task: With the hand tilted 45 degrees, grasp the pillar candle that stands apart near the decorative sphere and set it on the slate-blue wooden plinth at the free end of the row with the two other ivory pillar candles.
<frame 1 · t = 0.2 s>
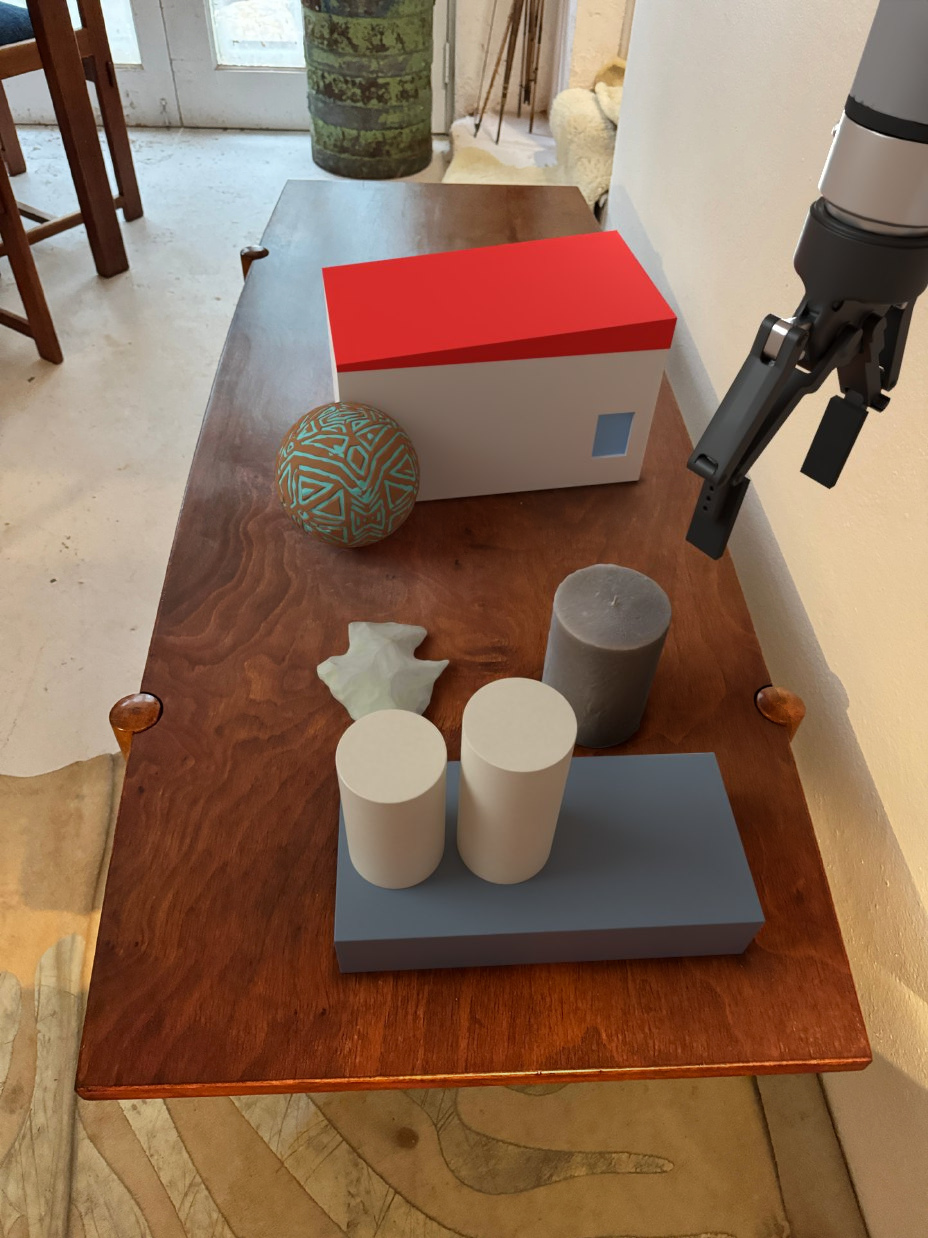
hand: (763, 512, 62), 23 cm above the table, tool pointing down, fingers open, 13 cm apart
arrowhead: (385, 691, 79), on the table
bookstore: (482, 442, 106), on the table, touching decorative sphere
pillar candle: (589, 706, 79), on the table
plinth: (541, 838, 63), on the table
tall ivory candle: (503, 839, 62), point 6 cm above the table, touching plinth
short ivory candle: (396, 844, 62), point 6 cm above the table, touching plinth
decorative sphere: (353, 530, 94), on the table, touching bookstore
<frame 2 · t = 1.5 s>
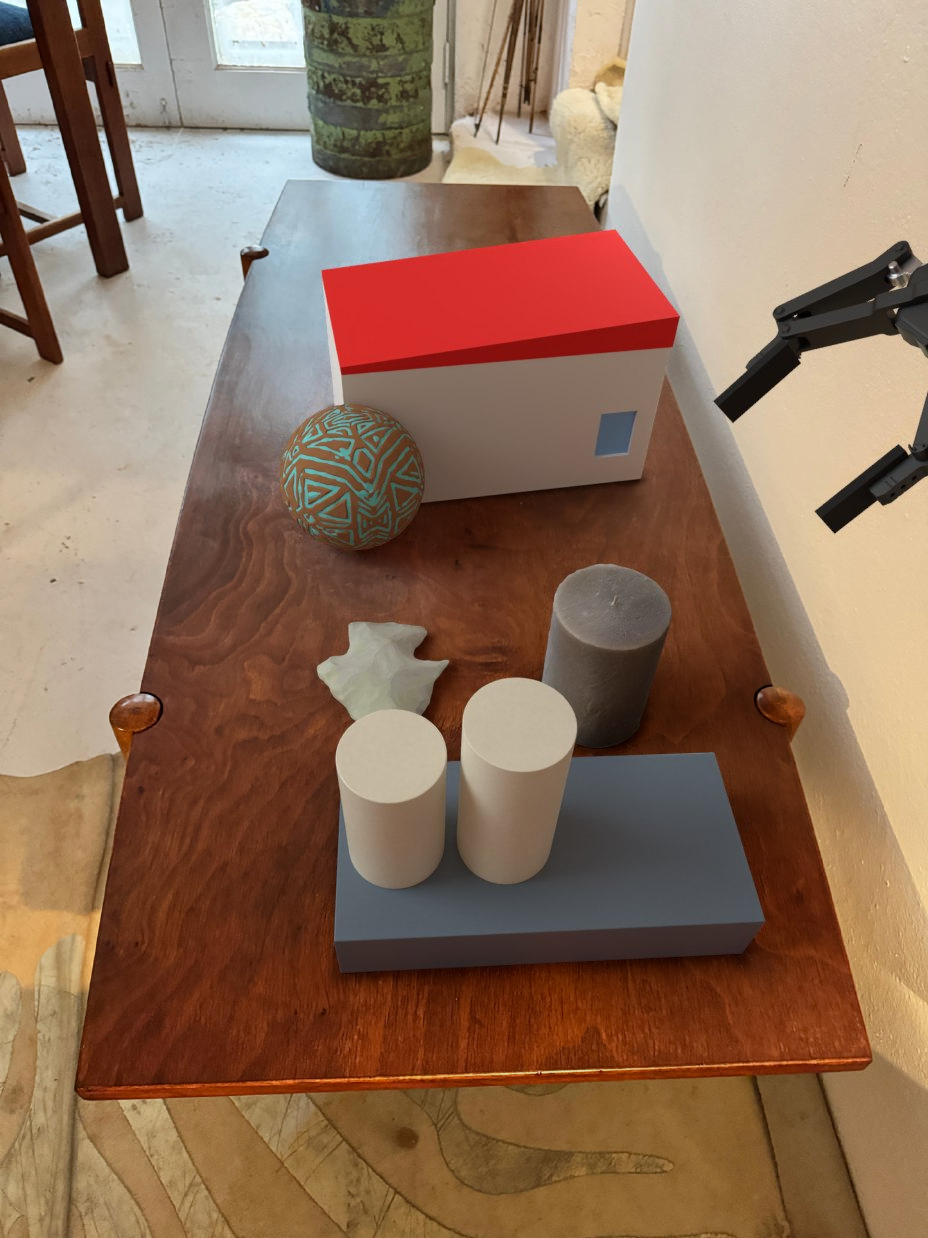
hand: (769, 464, 62), 26 cm above the table, tool tilted 45°, fingers open, 13 cm apart
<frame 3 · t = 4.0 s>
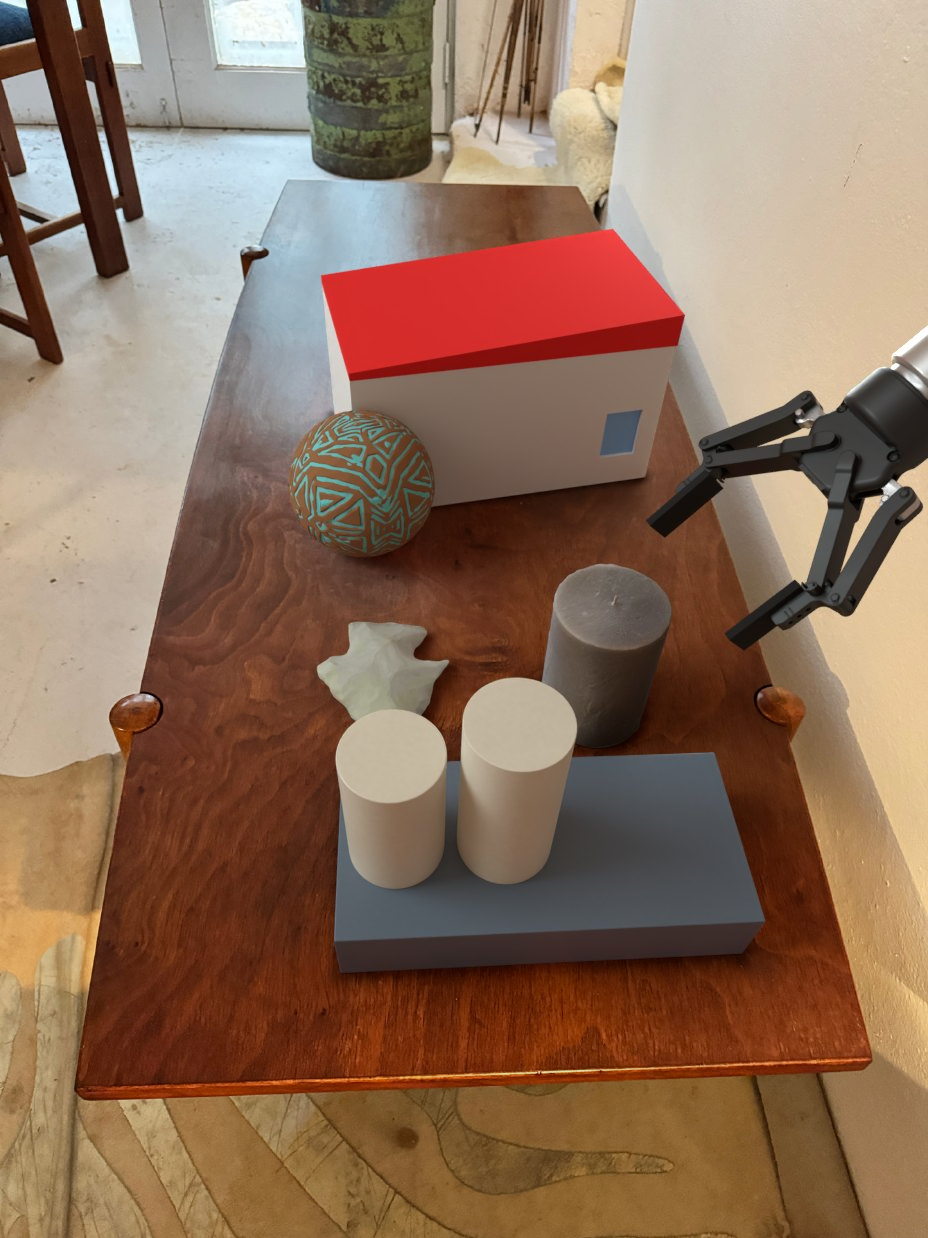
hand: (691, 582, 70), 14 cm above the table, tool tilted 45°, fingers open, 13 cm apart
decorative sphere: (366, 539, 93), on the table, touching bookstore
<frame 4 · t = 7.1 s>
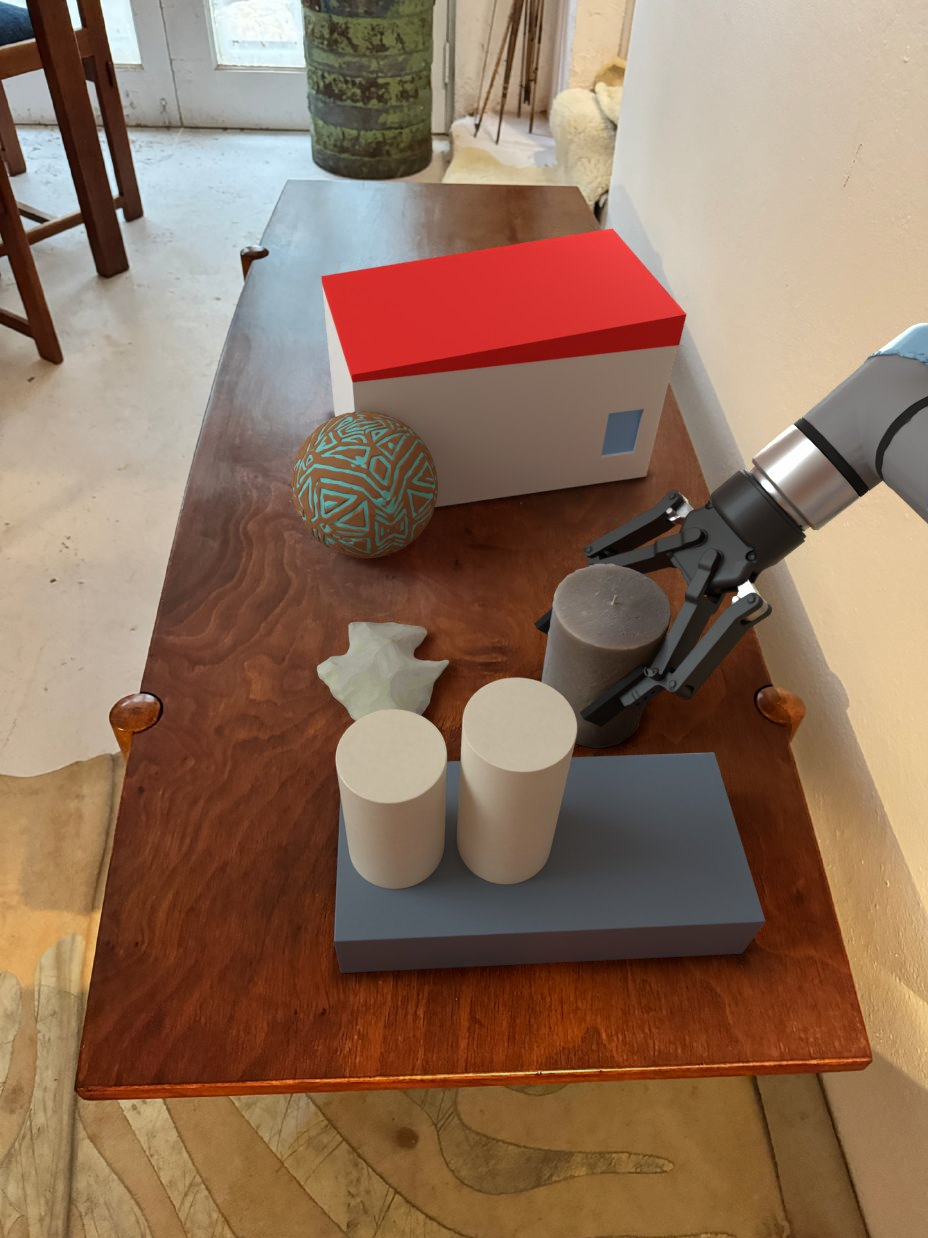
hand: (566, 673, 73), 6 cm above the table, tool tilted 45°, fingers closed on pillar candle, 10 cm apart
pillar candle: (588, 706, 79), on the table, touching gripper
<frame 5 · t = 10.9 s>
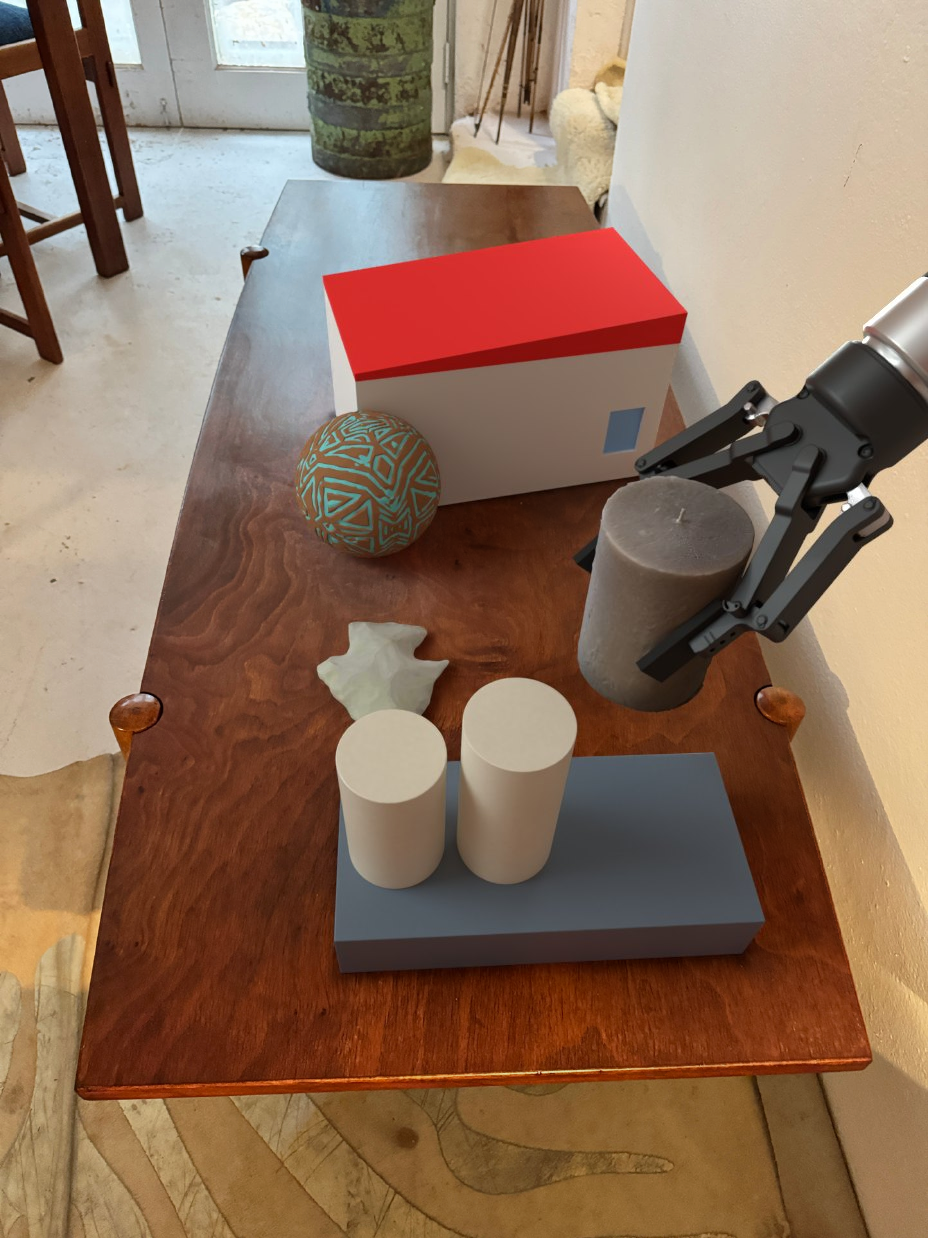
hand: (615, 617, 58), 21 cm above the table, tool tilted 45°, fingers closed on pillar candle, 10 cm apart
pillar candle: (639, 662, 63), point 14 cm above the table, touching gripper
when the fingers open (12 cm above the table, at t = 15.2 s): pillar candle stays where it is, resting on plinth.
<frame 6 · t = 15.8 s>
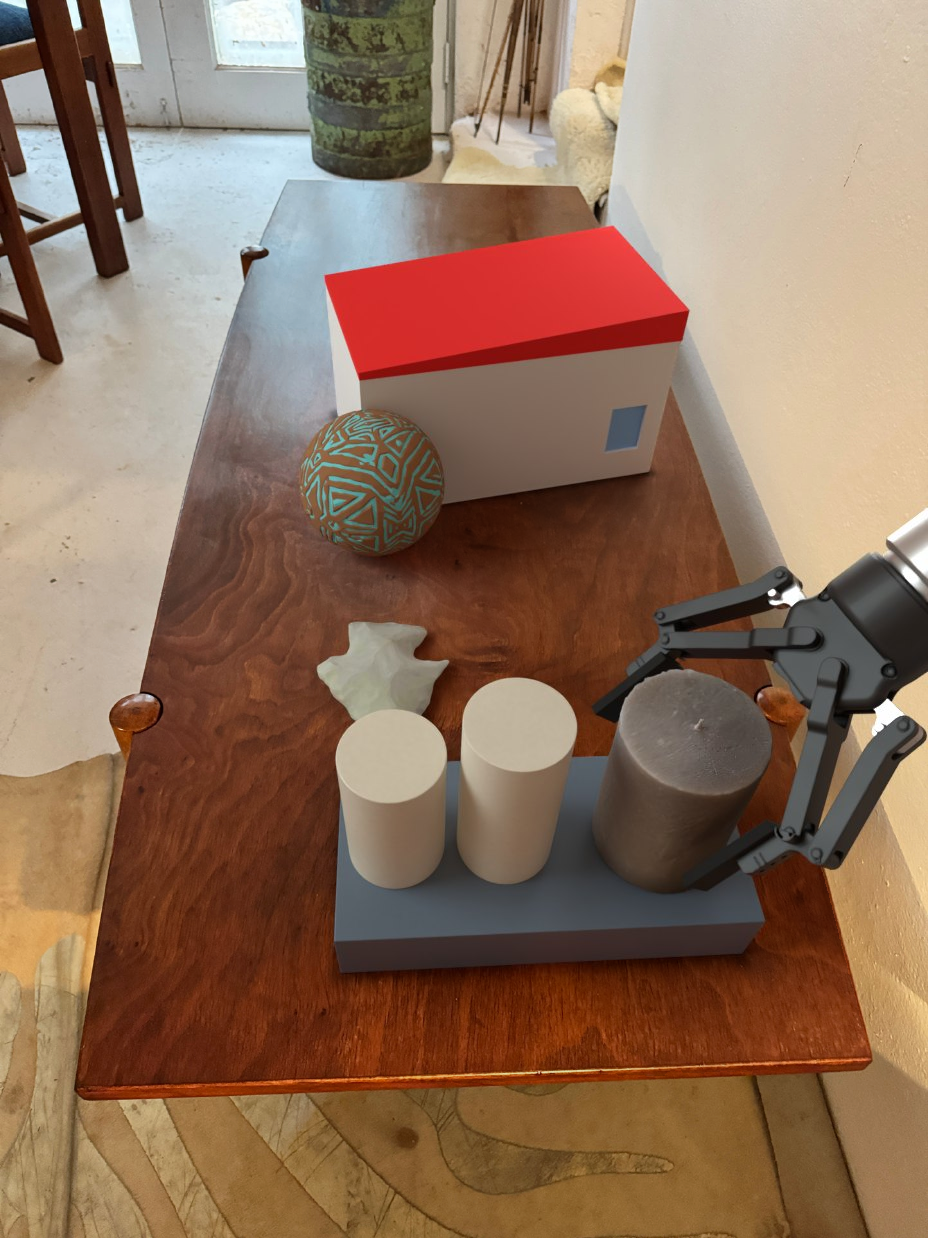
hand: (644, 793, 57), 13 cm above the table, tool tilted 45°, fingers open, 13 cm apart
pillar candle: (653, 834, 63), point 6 cm above the table, touching plinth
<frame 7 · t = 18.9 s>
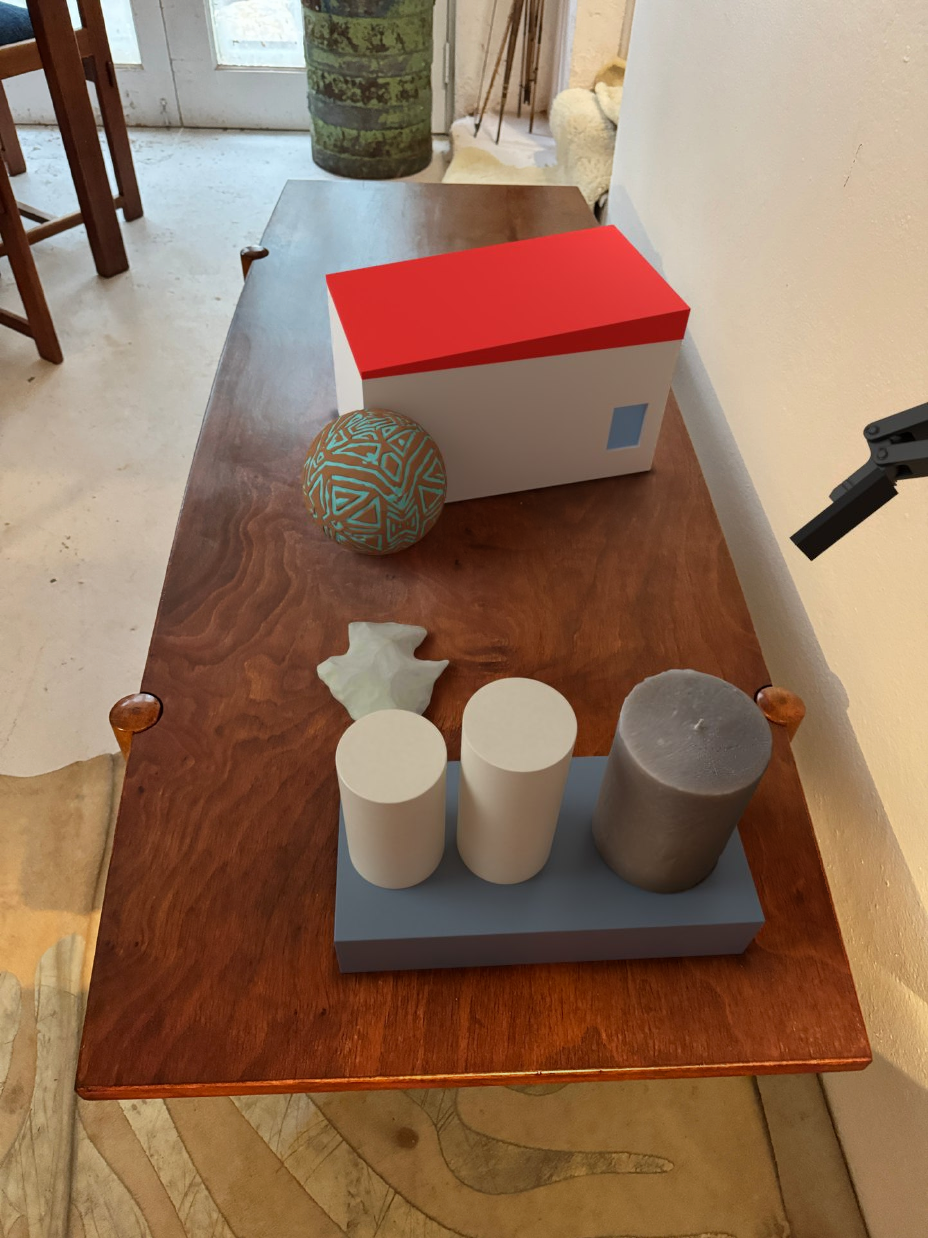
hand: (865, 625, 50), 27 cm above the table, tool tilted 45°, fingers open, 13 cm apart
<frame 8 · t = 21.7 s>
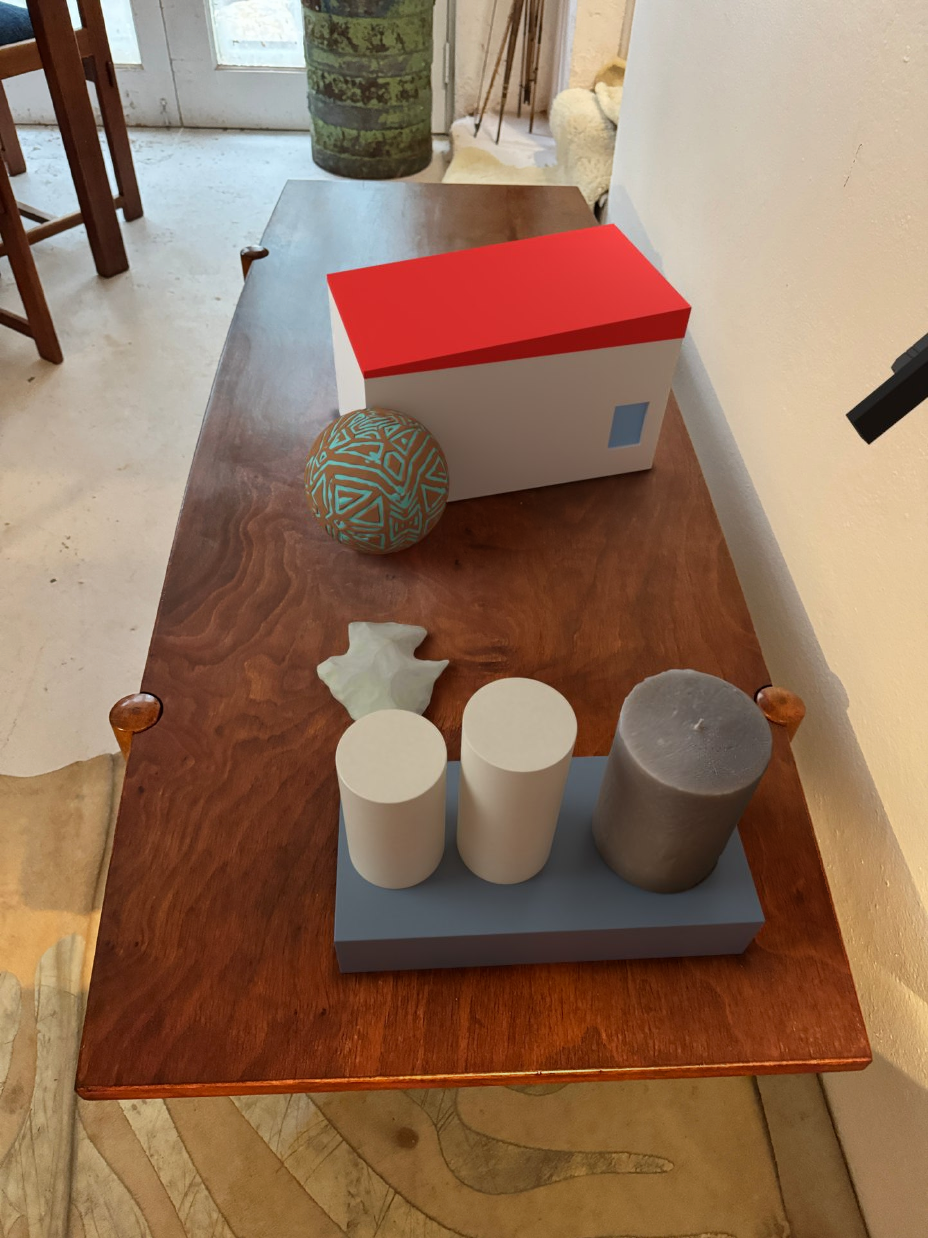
at the end: pillar candle inside the target area on the plinth (0.1 cm from its centre), point 0.0 cm above the plinth's base; pillar candle tilted 0°; decorative sphere moved 3.4 cm from its start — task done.
